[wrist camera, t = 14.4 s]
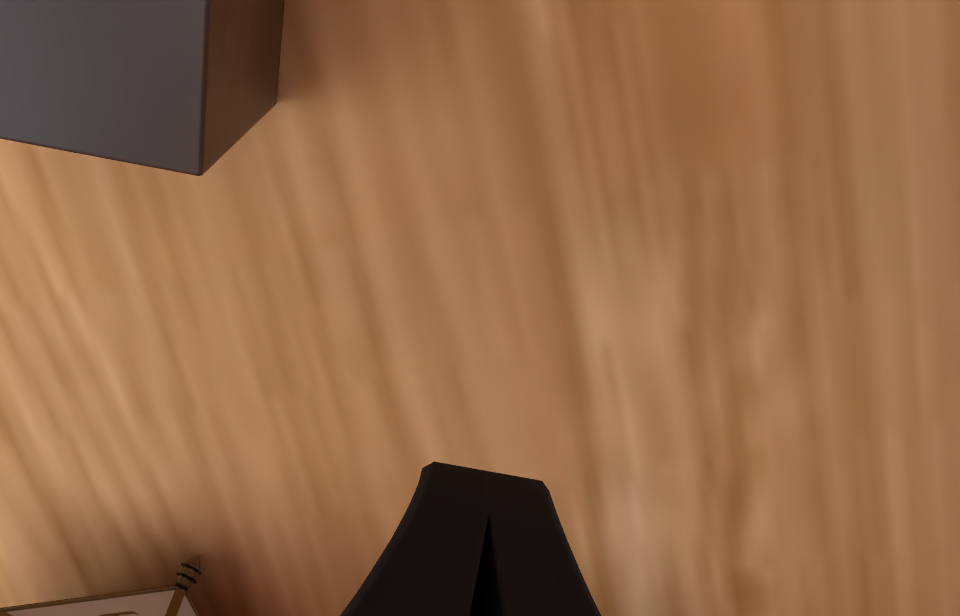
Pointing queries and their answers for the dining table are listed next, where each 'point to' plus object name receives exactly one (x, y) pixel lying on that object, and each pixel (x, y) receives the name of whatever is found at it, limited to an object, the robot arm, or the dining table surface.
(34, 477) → the dining table surface
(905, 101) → the dining table surface
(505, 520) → the robot arm
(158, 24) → the block
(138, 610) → the game die
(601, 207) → the dining table surface
